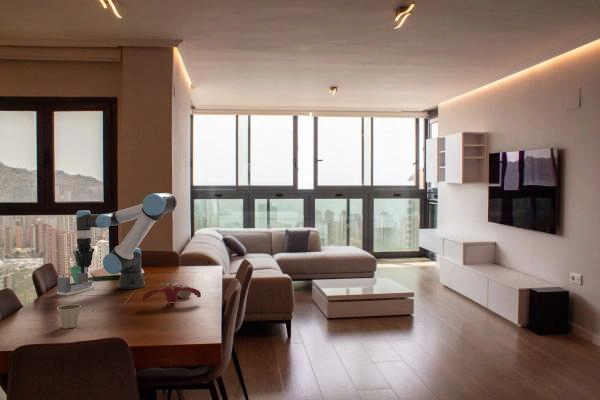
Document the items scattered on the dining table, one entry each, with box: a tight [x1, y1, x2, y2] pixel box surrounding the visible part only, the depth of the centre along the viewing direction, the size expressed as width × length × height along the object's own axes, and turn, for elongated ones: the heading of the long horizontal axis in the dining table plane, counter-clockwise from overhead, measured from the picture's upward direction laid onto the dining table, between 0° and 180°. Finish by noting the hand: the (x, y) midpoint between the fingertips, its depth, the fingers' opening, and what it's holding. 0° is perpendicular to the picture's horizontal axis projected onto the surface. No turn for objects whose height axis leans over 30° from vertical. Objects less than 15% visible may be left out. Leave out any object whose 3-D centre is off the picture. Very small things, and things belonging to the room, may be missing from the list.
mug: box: [69, 265, 81, 283], centre depth 310 cm, size 15×10×10 cm
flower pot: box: [56, 304, 82, 329], centre depth 219 cm, size 9×9×9 cm
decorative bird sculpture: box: [142, 286, 202, 307], centre depth 254 cm, size 28×9×15 cm
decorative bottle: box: [165, 281, 192, 300], centre depth 279 cm, size 26×8×7 cm, turn 37°
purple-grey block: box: [73, 272, 89, 285], centre depth 289 cm, size 5×8×8 cm, turn 63°
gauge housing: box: [56, 276, 95, 297], centre depth 286 cm, size 18×8×10 cm, turn 153°
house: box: [89, 267, 145, 280], centre depth 331 cm, size 23×33×8 cm
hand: (84, 278), depth 292 cm, fingers closed
